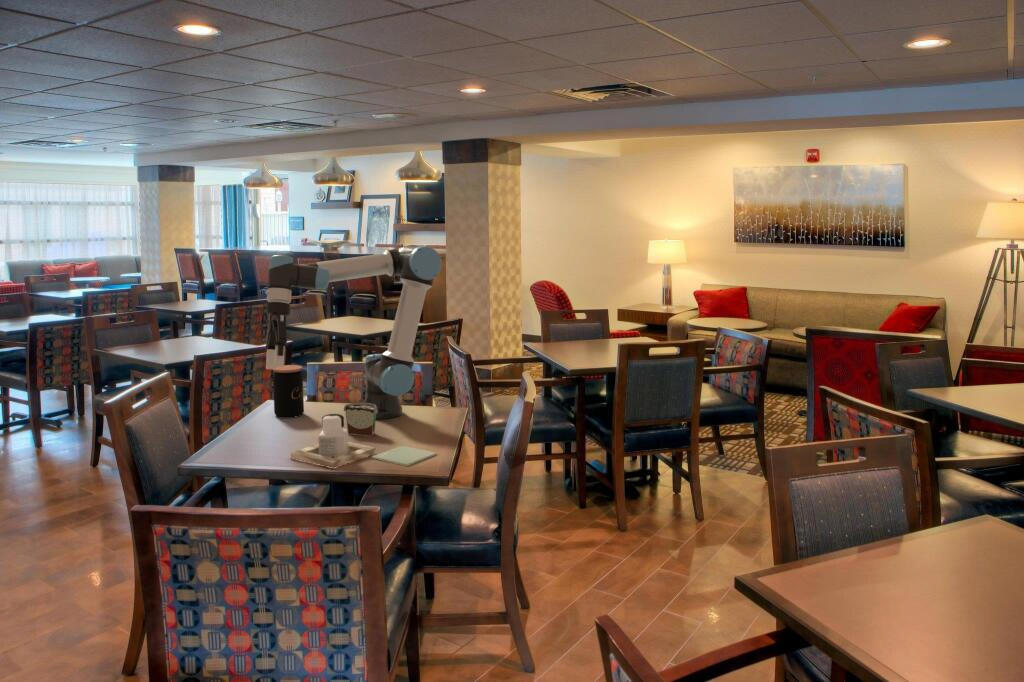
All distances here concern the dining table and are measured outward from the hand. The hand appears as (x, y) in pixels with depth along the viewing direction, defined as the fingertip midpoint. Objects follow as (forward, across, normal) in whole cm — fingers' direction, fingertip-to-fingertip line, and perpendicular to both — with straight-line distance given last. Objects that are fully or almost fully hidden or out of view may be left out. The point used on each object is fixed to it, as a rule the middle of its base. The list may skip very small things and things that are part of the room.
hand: (274, 368), depth 246 cm
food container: (+20, -2, +32) cm, 38 cm away
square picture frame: (+27, +18, +16) cm, 37 cm away
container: (+28, +18, +16) cm, 37 cm away
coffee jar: (+14, -39, +14) cm, 44 cm away
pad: (+27, +29, +35) cm, 53 cm away
